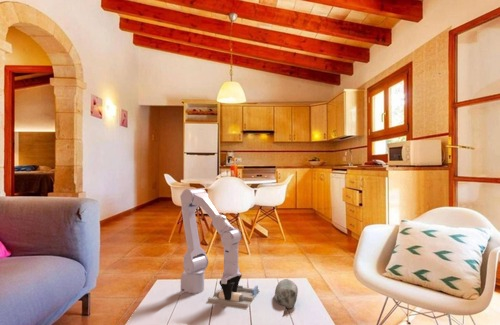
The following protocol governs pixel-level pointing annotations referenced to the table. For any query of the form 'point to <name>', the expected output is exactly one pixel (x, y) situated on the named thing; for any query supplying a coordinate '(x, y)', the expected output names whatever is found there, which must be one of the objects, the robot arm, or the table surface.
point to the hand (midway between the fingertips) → (230, 296)
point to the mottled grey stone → (286, 293)
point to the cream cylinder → (234, 296)
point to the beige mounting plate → (247, 299)
